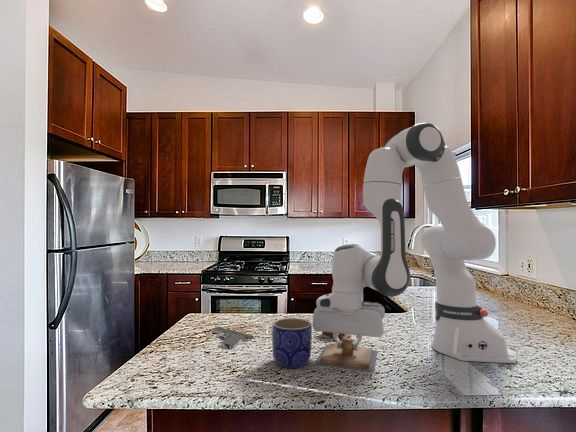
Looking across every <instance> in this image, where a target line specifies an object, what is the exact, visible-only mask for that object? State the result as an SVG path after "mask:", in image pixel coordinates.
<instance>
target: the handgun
mask: <svg viewBox="0 0 576 432" xmlns="http://www.w3.org/2000/svg"><path fill="white" fill-rule="evenodd" d="M211 333H215V334H217V338H218V339H223V341H221V342H220V347H222V348H226V349H229V350H234V349H236V348H237V347H238V346H239V344H240V343H242V342H245V341H246V342H249V341H250V340H252V339H254V335H253V334H249V333H245V332H243V331H242V332H241V331H239V330H234V329H230V328H225V327H221V326H216V327H214V328H211Z"/></svg>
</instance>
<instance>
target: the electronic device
mask: <svg viewBox="0 0 576 432" xmlns="http://www.w3.org/2000/svg"><path fill="white" fill-rule="evenodd" d="M321 332H322V331H321ZM321 334H322V335H324V336H327V337H331V338H333V333H332V332H322V333H321ZM351 337H352V335H351V334H342V333H339V335H338V338H339V340H340V341H342V338H351Z"/></svg>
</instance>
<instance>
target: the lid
mask: <svg viewBox="0 0 576 432" xmlns="http://www.w3.org/2000/svg"><path fill="white" fill-rule="evenodd" d="M341 341H342V349H339V348H337V343H329V344H328V345H329V346H328V347H327V349H326V351H325V352H324V354H323V356H322V357H321V359H320V363H327V364H334V365H342V366H349V367H357V368H364V369H369V366H370V361H371V356H372V350H373V348H372V347H371V348H370V347H363V346H359V348H358V351H356V350H353V342H354V339H353V338H351V337H350V338H342V340H341Z"/></svg>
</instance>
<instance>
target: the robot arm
mask: <svg viewBox="0 0 576 432" xmlns="http://www.w3.org/2000/svg"><path fill="white" fill-rule="evenodd" d="M412 166H415V167H416V168H417V169H418V171H419V173H420V176H421V178H420V179H421V182H422V185H423V187H422V188H423V191H424V192H423V193H424V196H425V200H426V205H427V209H428V210H429V211H430V213H432V214H433V215H434V216H435V217H436V218H437V219H438V221H439V222H440V223H438V224H435V225H432V226H430V227H427V228H426V229H425V230H424V231H423V232H422V233H421V237H420V238H421V239H420V242H421V247H422V248H423V250H424V252H426V253H427V255H428V256H429V259H430V261H431V264H432V268H433V271H434V275H435V285H436V286H435V287H436V288H435V289H436V291H435V292H436V293H435V294H436V301H435V302H434V318H435V329H434V334H433V338H432V342H431V348H432V349H433V350H434V351H436V352H439V353H440V354H444V355H446V356H449V357H452V358H454V359H456V360H459V361H465V362H479V363H481V362H482V363H483V362H484V363H501V364H516V363H517V362H518V358H517V355H516V353H515V352H514V351H513V350H512V349H510V347H508V345H507V340H506V339H505V336H504V335H503V333H502V331H500V330H499V329H498V328H497V327H495V326H494V325H493V324H491V323H490V322H488V321H487V320H486V319H485V318H487V317H488V316H489V312H488V310H487V309H485V308H483V307H481V306H479V305H477V284H476V283H477V282H476V279H475V277H474V276H473V275H472V274H471V273H470V271H469V270H468V268H467V266H466V263H465V261H467V262H473V261H479V260H480V261H481V260H485V259H488V258H490V257H491V256H492V255H493V254H494V252H495V250H496V246H497V239H496V237H495V234H494V232H493V231H492V230H491V229H490V228H489V227H487V226H486V225H484V224H483V223H482V222H481V221H480V220H479V218H478V217H477V216H476V215H475V213H474V212H473V209H472V207H471V206H470V204H469V202H468V199H467V195H466V192H465V188H464V185H463V180H462V175H461V171H460V169H459V165H458V162H457V160H456V158H455V154H454V153H453V150H452V149H451V148H449V147H448V146H447V145H446V143H445V140H444V137H443V134H442V132H441V130H440V129H439V128H438V126H436V125H435V124H433V123H430V122H422V123H417V124H414V125H413V126H411V127H408V128H405V129H403V130H401V131H400V132H399V133H398V134H396V135H394V136H393V137H390V138H389V139H388V140H387V141H386V142H385V143H384V144H383V146H382V147H379V148H376V149H374V150H372V151H371V152H370V153H369V156H368V158H367V162H366V166H365V171H364V176H363V184H362V185H363V186H362V199H363V205H364V207H365V208H366V209H367V211H369V212H370V213H371V214H372V215H374V216H375V218H376V219H377V220H378V222H379V225H380V227H379V228H380V255H378V254H375V253H372V252H370V251H369V250H366V249H364V248H363V247H362V246H361V245H360V244H356V243H349V244H344V245H340V246H337V248H336V249H334V252H333V256H332V266H331V267H332V268H331V276H332V280H333V281H332V283H333V284H332V287H331V293H328V294H324V295H321V296H319V297H318V298H317V299H316V301H315V303H316V308H314V310H313V315H312V323H311V326H312V329H313V330H314V331H315V332H332V333H333V337H332V338H333V340H334V341H335V342H336V344H337V348H339V349H342V340H340V339H339V338H338V335H339V333H342V334H349V335H351V336H352V335H353V336H356V341H355V342H354V341H353V350H356V351H358V348H359V347H360V346H359V344H360V343H361V341H362V339H363V337H372V338H382V337H383V336H384V332H385V331H384V330H385V329H384V326H385V325H384V318H385V316H386V312H385V307H384V306H383V305H382V304H380V303H378V302H371V301H364V288H366V287H368V288H370V289H373V290H375V291H377V292H378V293H380V294H381V295H383V296H385V297H390V298H392V297H393V298H394V297H398V296H400V295H401V294H403V293H404V292H405V291H406V290H407V288H408V287H409V284H410V282H411V271H410V268H409V265H408V261H407V256H406V228H405V227H406V225H405V213H404V207H403V204H402V183H403V172H404V169H405V168H409V167H412Z"/></svg>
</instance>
